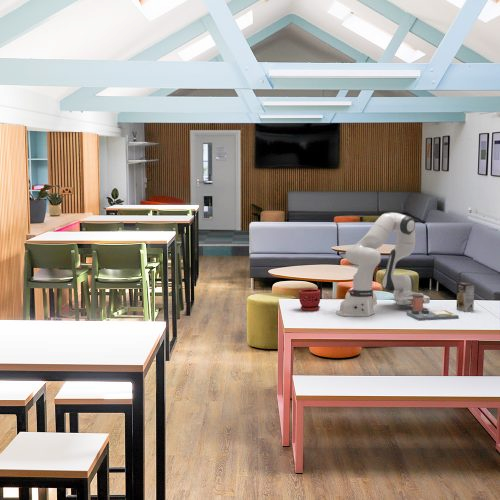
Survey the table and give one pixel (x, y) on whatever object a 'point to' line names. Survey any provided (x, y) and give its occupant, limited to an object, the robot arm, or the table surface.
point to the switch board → (432, 315)
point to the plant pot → (309, 299)
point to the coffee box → (465, 296)
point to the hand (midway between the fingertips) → (417, 302)
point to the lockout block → (418, 302)
